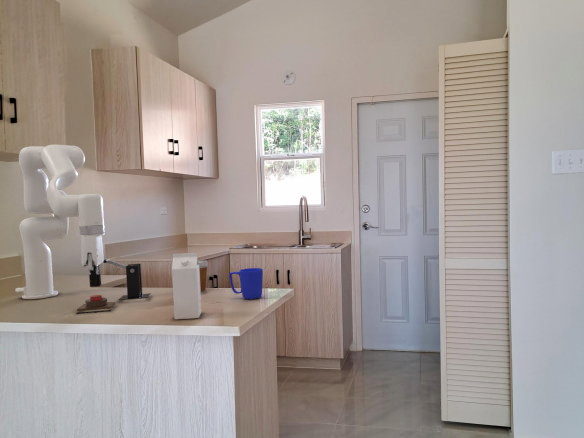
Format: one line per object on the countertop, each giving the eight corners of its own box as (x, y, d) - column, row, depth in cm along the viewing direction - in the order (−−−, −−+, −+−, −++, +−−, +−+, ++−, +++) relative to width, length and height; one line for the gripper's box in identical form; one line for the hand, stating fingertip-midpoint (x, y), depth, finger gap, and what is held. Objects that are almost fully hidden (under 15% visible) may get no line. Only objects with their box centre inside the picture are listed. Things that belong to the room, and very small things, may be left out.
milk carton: (178, 314, 144) (175, 252, 143) (201, 312, 144) (198, 251, 144) (174, 320, 137) (170, 255, 136) (199, 318, 137) (195, 254, 136)
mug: (234, 295, 169) (233, 268, 169) (266, 295, 167) (265, 267, 167) (226, 300, 161) (225, 271, 161) (260, 300, 159) (259, 271, 158)
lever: (102, 264, 166) (104, 257, 166) (105, 262, 171) (107, 256, 171) (135, 275, 168) (137, 268, 168) (137, 273, 173) (139, 266, 173)
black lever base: (118, 302, 166) (116, 267, 165) (123, 298, 174) (121, 264, 173) (147, 300, 167) (145, 265, 167) (151, 296, 175) (149, 262, 175)
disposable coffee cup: (211, 293, 175) (209, 262, 175) (185, 296, 172) (183, 264, 172) (207, 289, 184) (206, 259, 184) (183, 292, 181) (181, 261, 181)
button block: (77, 314, 150) (76, 303, 150) (84, 308, 158) (83, 298, 158) (109, 311, 152) (109, 301, 152) (115, 306, 160) (114, 296, 160)
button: (89, 302, 153) (88, 297, 153) (92, 300, 157) (91, 295, 157) (100, 301, 154) (100, 296, 154) (103, 299, 157) (102, 294, 157)
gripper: (86, 230, 161) (89, 283, 162) (73, 233, 146) (77, 291, 147) (109, 229, 162) (112, 282, 163) (98, 231, 147) (102, 289, 148)
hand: (95, 286), depth 155 cm, fingers closed
